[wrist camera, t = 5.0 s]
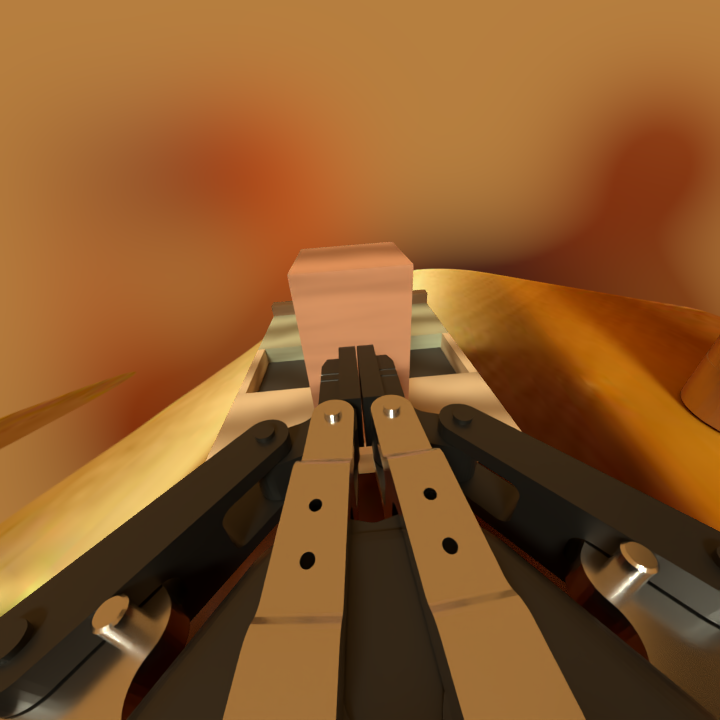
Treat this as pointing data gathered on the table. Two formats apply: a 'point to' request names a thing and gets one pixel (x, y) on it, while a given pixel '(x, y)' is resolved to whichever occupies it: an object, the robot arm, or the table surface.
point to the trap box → (292, 390)
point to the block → (353, 305)
